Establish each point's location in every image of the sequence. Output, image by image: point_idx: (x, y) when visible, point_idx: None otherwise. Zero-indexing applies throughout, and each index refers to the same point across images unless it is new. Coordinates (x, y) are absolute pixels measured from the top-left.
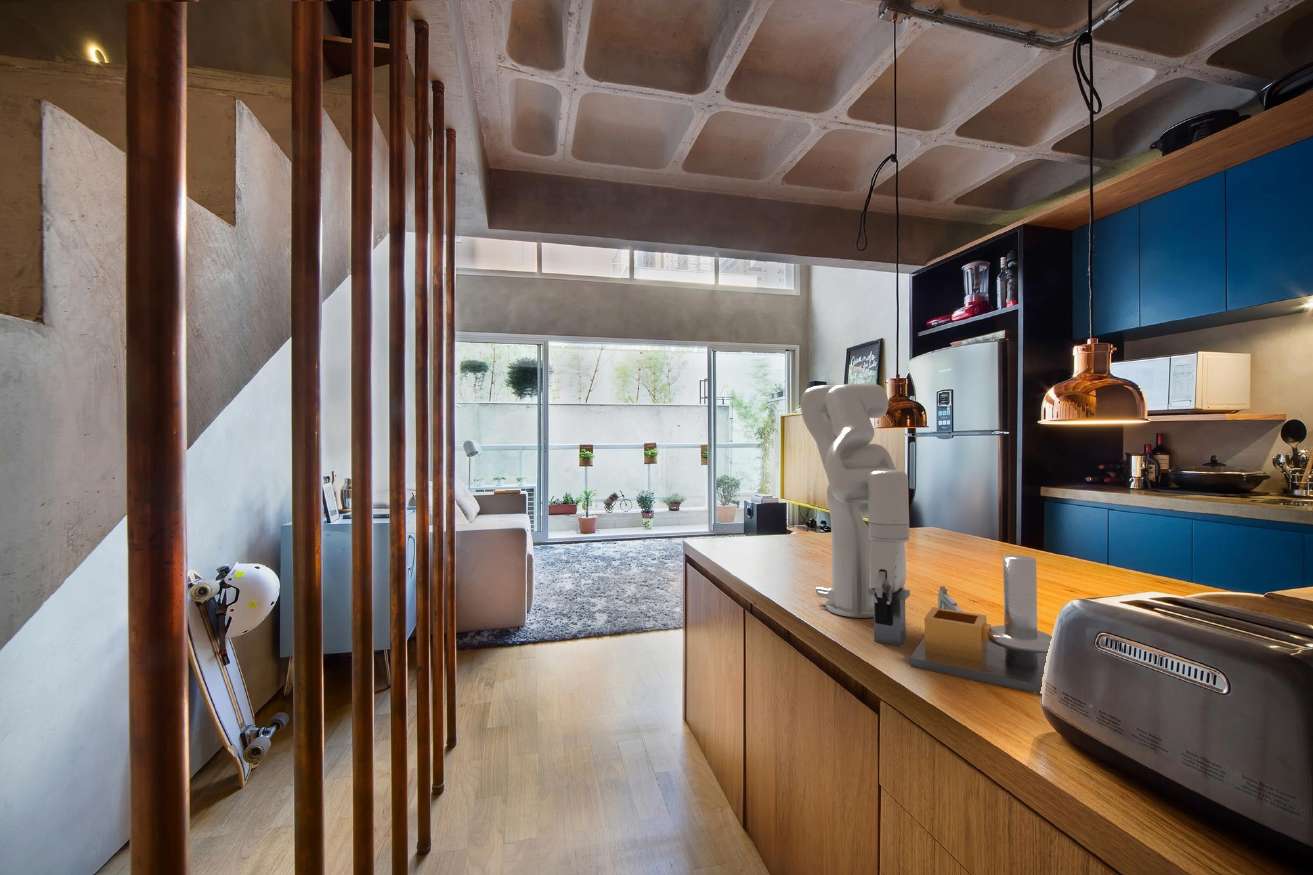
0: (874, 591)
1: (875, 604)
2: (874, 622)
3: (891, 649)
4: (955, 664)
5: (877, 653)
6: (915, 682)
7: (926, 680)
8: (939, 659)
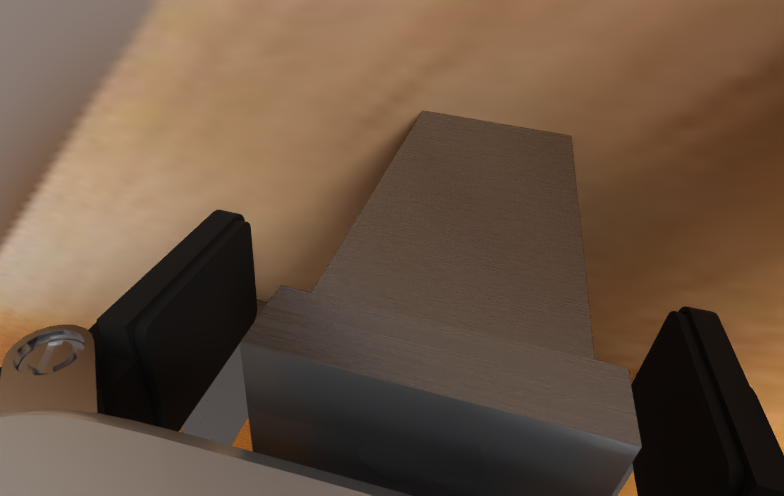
0: (260, 392)
1: (117, 309)
2: (390, 169)
3: (331, 211)
4: (205, 428)
5: (225, 145)
6: (51, 286)
7: (96, 318)
8: (215, 394)
